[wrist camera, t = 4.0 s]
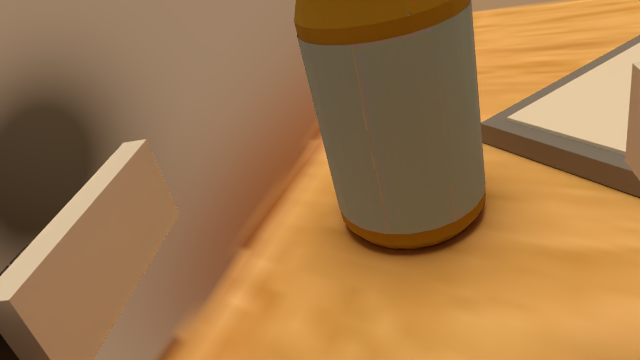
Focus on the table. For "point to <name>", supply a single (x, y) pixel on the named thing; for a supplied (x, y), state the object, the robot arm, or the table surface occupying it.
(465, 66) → the bottle
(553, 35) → the table surface
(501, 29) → the table surface
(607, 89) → the clipboard
